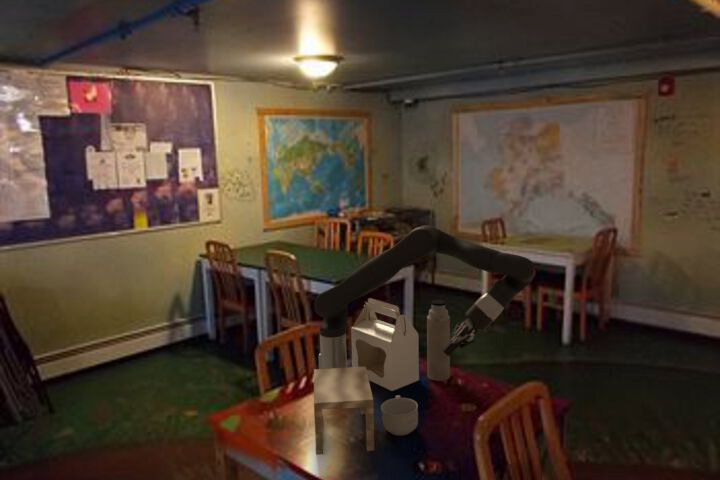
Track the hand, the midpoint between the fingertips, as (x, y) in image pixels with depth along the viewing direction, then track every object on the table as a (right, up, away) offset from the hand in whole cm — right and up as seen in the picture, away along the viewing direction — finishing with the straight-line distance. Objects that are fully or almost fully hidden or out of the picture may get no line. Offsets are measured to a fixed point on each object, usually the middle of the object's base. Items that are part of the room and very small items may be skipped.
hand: (445, 353), depth 167 cm
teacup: (-14, -22, -2) cm, 26 cm away
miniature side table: (-31, -22, -3) cm, 38 cm away
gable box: (-17, -16, +35) cm, 42 cm away
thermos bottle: (+3, -15, +34) cm, 37 cm away
